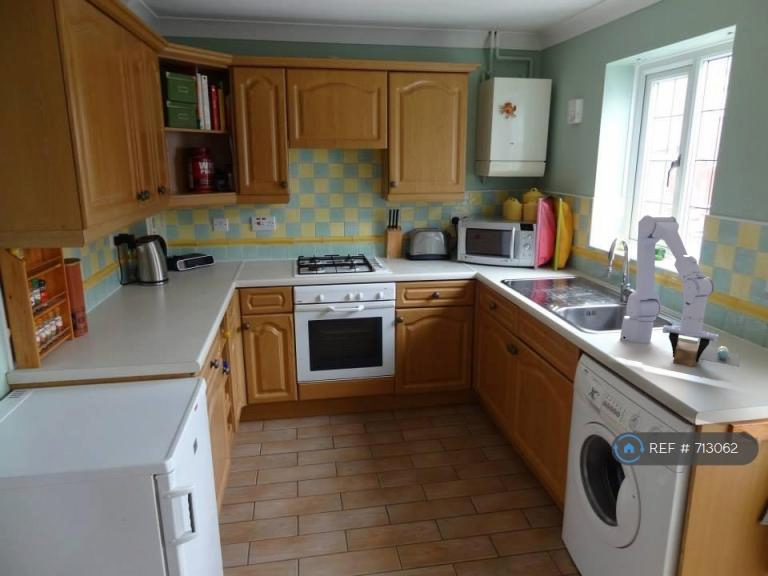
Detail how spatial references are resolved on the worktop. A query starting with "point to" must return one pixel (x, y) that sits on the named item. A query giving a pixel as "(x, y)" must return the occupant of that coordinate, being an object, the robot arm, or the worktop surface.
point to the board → (712, 356)
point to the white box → (688, 339)
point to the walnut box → (686, 354)
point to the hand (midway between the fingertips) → (685, 358)
